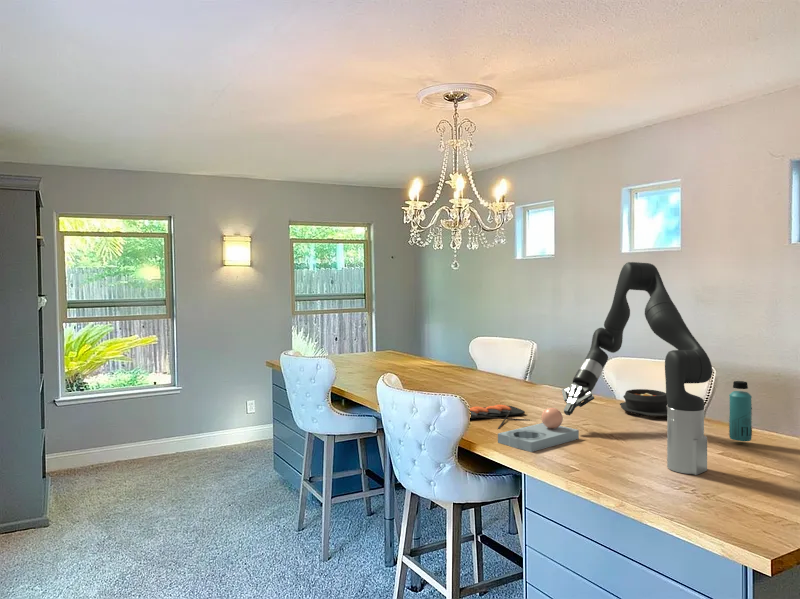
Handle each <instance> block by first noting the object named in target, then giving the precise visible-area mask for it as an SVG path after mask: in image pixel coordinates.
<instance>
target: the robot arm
mask: <svg viewBox="0 0 800 599" xmlns="http://www.w3.org/2000/svg"><path fill="white" fill-rule="evenodd" d="M616 283H617V284H616V287H615V290H614V295H613V299H612V304H611V307H610V309H609V312H608V313H607V316H606V318H605V320H604V323H603V326H604V327H599V328H596V329H595V330H594V331H593V335H592V339H591V345H590V349H589V351H588V353H587V355H586V357H585V358H584V361H583V362H582V363H581V364H580V365H579V368H578V369H577V372H576V373H575V375H574V377H573V379H572V383H571V384H569V386H568V387H567V388H565V387H562V388H561V394H562V399H563V400H564V402H565V403H566V404H565V406H564V409H563V412H564V415H566V416H571V415H572V414H573V412H574V411H575V409H577V407H579V408H581V407H584V406H585V405H586V404H588V403H590V402H592V401H593V400H595V397H594V395H593V394H592V391H593V390H594V388H595V386H596V384H597V382H598V381H599V379H600V378H601V375H602V372H603V369H604V368H605V366H606V365H607V362H608V360H609V355H608V354H607V353H606V352H609V353H613V354H614V353H617V352H619V350H620V349H621V347H622V345H623V337H624V336H623V335H624V329H625V328H626V326H627V324H628V322H629V319H630V317H631V308H630V305H629V302H628V299H627V294H628V292H629V290H630V291H632V290H633V291H644V292H646V293H647V294H648V295H649V299H648V300H647V303H646V305H645V308H644V317H645V320H646V322H647V324H648V326H649V327H650V329H651V331H652V332H653V333H654V334H655V335H656V336H657V337H659V339H661V340H662V341H664V342H666V343H668V344H669V345H670V346H672V347H674V348H675V349H674V350H670V351H668V352H667V353H666V356H665V359H664V377H665V393H666V396H667V416H666V419H667V420H666V421H667V422H666V429H667V430H666V434H667V435H666V438H667V440H666V442H667V443H666V450H667V451H666V453H667V454H666V455H667V456H666V462H667V463H666V464H667V466H666V467H667V469H669V470H670V471H673V472H676V473H681V474H687V475H688V474H689V475H695V476H697V475H700V474H702V473H705V472H706V471H708V437H707V435H705V400H704V399H703V397H701V396H699V395H695V394H692V393H690V392H688V391H686V389H685V384H703V383H707V382H708V381H710V379H711V378H712V376H713V366H712V362H711V360H710V358H709V356H708V354H707V353H706V351H705V350H704V348H703V347H702V346H701V344H700V343H699V342H698V340H697V339H696V337H695V336H694V335H693V333H692V332H691V331H690V329H689V327H688V326H687V324H686V323H685V321H684V319H683V317H682V315H681V313H680V312H679V310H678V308H677V306H676V305H675V303H674V302H673V301H672V298H671V296H670V295H669V292H668V291H667V288H666V287H665V285H664V281H663V280H662V277H661V275H660V272H659V269H658V268H657V267H656V266H655V265H654V264H653V263H649V262H639V261H638V262H634V261H632V262H630V261H628V262H626V263H624V264H623V266H622V268H621V270H620V272H619V277H618V279H617V282H616ZM604 350H605V351H606V352H605V351H604Z"/></svg>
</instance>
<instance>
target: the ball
mask: <svg viewBox="0 0 800 599" xmlns="http://www.w3.org/2000/svg"><path fill="white" fill-rule="evenodd" d="M563 418H564V417H563V414H562V412H561V411H560V410H559V409H558V408H556V407H548V408H546V409H544V410H543V411H542V413H541V423H543V424H544V425H545V426H546V427H548V428H551V429H555V428H557V427H559V426H562V424H563V421H564V419H563Z"/></svg>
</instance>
